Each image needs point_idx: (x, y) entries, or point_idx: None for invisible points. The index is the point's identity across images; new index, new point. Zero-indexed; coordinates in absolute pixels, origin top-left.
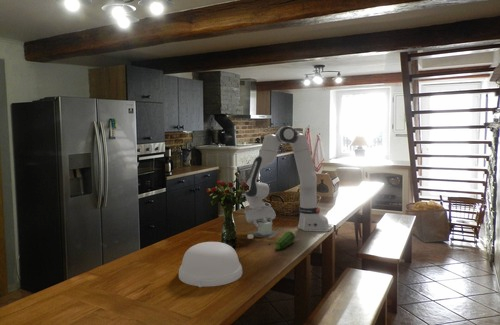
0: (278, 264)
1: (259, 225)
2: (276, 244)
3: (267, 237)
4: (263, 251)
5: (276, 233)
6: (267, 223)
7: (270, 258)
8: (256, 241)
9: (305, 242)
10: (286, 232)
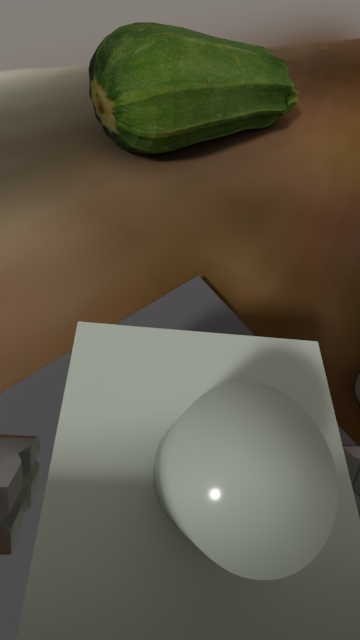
0: (329, 57)
1: (345, 446)
2: (291, 86)
3: (223, 305)
4: (347, 147)
5: (30, 376)
6: (197, 336)
7: (340, 92)
8: (344, 298)
9: (28, 98)
10: (177, 34)
